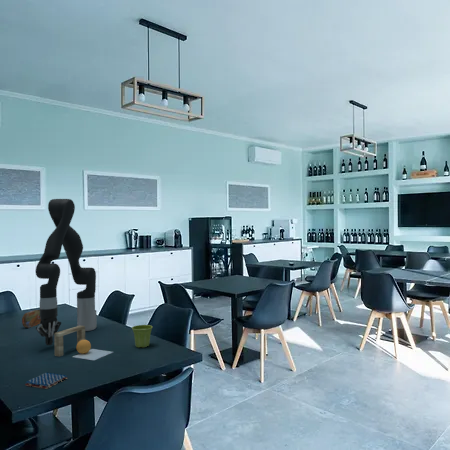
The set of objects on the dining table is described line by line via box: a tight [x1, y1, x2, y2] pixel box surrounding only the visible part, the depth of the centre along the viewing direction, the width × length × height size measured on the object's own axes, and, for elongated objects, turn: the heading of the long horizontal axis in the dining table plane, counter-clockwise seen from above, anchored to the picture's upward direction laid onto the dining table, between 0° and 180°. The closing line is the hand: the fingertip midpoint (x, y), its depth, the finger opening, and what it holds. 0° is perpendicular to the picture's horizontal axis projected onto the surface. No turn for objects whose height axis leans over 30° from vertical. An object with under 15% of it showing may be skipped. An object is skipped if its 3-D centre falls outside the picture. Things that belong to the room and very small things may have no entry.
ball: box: [75, 339, 92, 354], centre depth 182 cm, size 6×6×6 cm
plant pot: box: [131, 324, 153, 348], centre depth 192 cm, size 9×9×9 cm
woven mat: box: [24, 372, 68, 390], centre depth 149 cm, size 10×11×2 cm
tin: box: [21, 309, 41, 329], centre depth 235 cm, size 15×3×8 cm, turn 168°
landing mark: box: [72, 348, 114, 362], centre depth 180 cm, size 12×12×1 cm
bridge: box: [53, 325, 86, 357], centre depth 186 cm, size 3×15×10 cm, turn 155°
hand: (49, 344), depth 191 cm, fingers closed
